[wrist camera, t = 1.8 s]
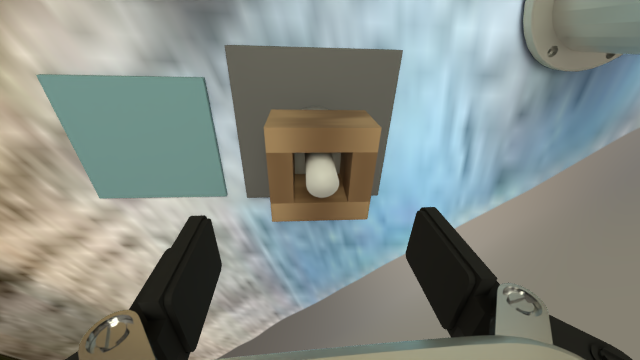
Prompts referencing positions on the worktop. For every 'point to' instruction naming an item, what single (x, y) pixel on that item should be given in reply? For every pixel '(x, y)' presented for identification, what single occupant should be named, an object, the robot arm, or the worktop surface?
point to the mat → (140, 133)
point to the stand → (307, 102)
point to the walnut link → (321, 137)
